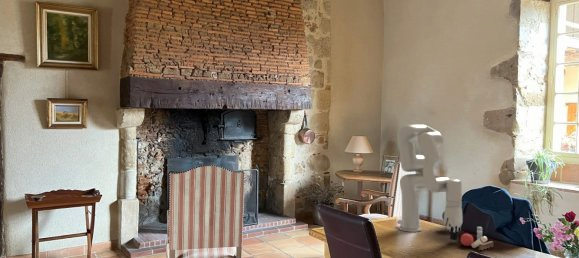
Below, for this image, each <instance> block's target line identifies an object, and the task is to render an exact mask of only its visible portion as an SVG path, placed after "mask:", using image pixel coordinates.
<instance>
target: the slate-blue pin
mask: <svg viewBox="0 0 579 258" xmlns="http://www.w3.org/2000/svg"><path fill="white" fill-rule="evenodd" d="M481 237H483V227H482V226H476V241H477V240H478V239H480V238H481Z"/></svg>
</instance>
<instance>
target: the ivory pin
mask: <svg viewBox="0 0 579 258" xmlns="http://www.w3.org/2000/svg"><path fill="white" fill-rule="evenodd" d="M487 242H488V237H487V236H485V235H484V236H483V235H482V237H481V238H480V239H478V240H477V239H476V240H475V241H473V243H472V244H471V245H470V246H471V247H472V248H473V249H475V248H478V247H479V245H481V244H484V243H487Z"/></svg>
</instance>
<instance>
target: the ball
mask: <svg viewBox="0 0 579 258" xmlns="http://www.w3.org/2000/svg"><path fill="white" fill-rule="evenodd" d="M473 242H475V241H474V237H473V235H471V234H469V233H463V234H462V235H461V236H460V243H461V244H462V245H464V246H465V247H469V246H471V244H472V243H473Z"/></svg>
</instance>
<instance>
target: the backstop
mask: <svg viewBox="0 0 579 258" xmlns="http://www.w3.org/2000/svg"><path fill="white" fill-rule="evenodd" d="M490 247H491V248H494V241H492V240H491V241H486V242H484V243H482V244H481V245H479V246H478V251H480V250H482V251H485V250H488V249H491V248H490ZM487 248H488V249H487ZM484 249H485V250H484Z"/></svg>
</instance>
